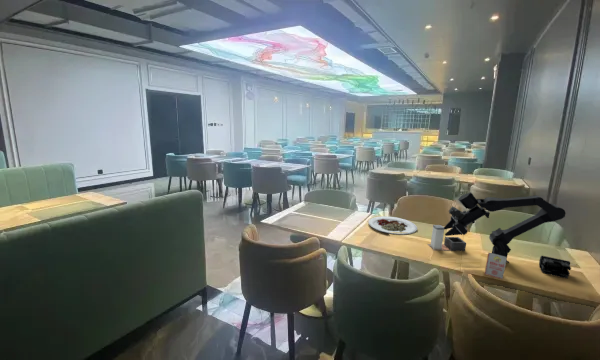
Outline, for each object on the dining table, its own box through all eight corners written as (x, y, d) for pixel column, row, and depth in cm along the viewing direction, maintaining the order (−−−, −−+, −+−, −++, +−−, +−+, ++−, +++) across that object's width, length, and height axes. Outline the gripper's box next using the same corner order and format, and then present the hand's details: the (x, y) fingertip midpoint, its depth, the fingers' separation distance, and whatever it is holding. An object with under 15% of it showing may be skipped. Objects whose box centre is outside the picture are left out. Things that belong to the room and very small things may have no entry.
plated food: (415, 240, 163) (415, 235, 162) (363, 230, 175) (363, 225, 175) (418, 223, 189) (418, 219, 188) (373, 216, 202) (373, 211, 201)
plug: (441, 249, 150) (444, 227, 147) (433, 248, 150) (436, 227, 147) (437, 245, 154) (440, 225, 151) (430, 245, 154) (433, 224, 151)
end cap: (565, 272, 132) (568, 259, 130) (569, 279, 126) (573, 265, 124) (537, 266, 137) (540, 253, 135) (540, 272, 131) (543, 259, 129)
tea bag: (485, 270, 131) (488, 251, 129) (502, 275, 127) (506, 255, 125) (484, 274, 128) (488, 254, 126) (502, 279, 124) (506, 258, 122)
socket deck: (465, 252, 148) (467, 243, 147) (433, 252, 148) (434, 242, 147) (457, 246, 156) (458, 236, 155) (426, 245, 156) (428, 236, 155)
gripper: (458, 198, 151) (433, 214, 158) (463, 208, 134) (435, 225, 141) (473, 214, 150) (447, 230, 157) (479, 226, 133) (450, 243, 140)
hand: (444, 231), depth 149 cm, fingers open, 9 cm apart
